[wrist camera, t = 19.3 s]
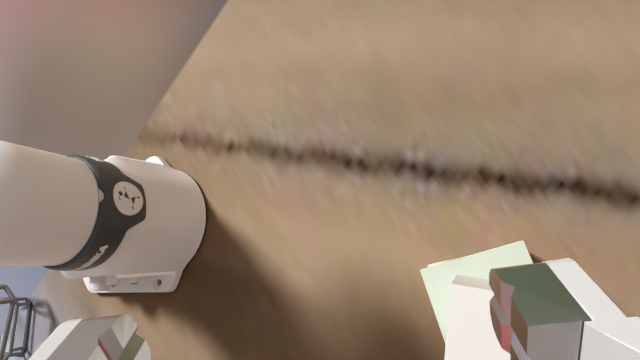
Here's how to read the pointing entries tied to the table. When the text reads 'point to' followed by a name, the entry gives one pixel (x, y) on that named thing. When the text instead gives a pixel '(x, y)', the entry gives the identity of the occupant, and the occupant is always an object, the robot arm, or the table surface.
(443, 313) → the sage block
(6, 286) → the geometric lantern
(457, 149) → the table surface
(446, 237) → the table surface
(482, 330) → the tall grey block
